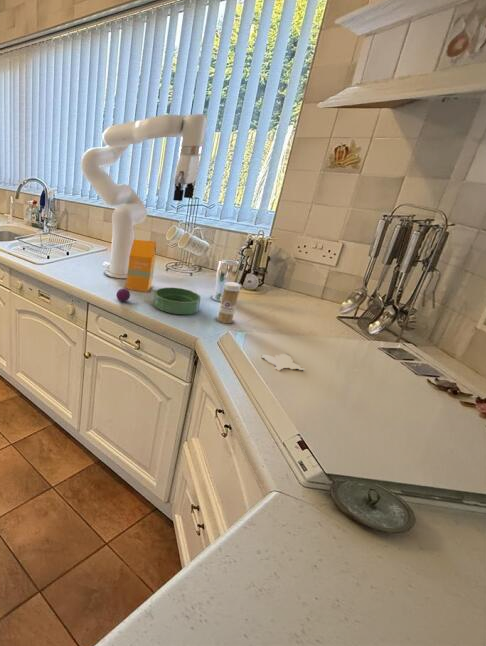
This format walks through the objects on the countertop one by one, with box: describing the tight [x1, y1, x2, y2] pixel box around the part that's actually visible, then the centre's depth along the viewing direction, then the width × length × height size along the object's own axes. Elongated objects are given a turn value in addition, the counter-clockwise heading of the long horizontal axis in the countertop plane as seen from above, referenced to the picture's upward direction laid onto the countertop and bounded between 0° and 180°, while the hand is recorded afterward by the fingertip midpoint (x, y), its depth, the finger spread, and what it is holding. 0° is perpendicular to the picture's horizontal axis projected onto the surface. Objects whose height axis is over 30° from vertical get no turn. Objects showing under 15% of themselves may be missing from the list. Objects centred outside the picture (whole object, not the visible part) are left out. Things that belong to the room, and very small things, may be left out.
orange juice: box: [125, 239, 157, 293], centre depth 161 cm, size 8×9×20 cm
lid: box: [329, 479, 417, 534], centre depth 65 cm, size 11×10×5 cm
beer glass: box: [212, 258, 240, 303], centre depth 149 cm, size 7×7×15 cm
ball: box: [115, 288, 131, 303], centre depth 150 cm, size 5×5×5 cm
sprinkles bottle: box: [217, 281, 242, 324], centre depth 131 cm, size 5×5×13 cm
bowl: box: [153, 287, 202, 315], centre depth 144 cm, size 15×15×5 cm
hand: (182, 199), depth 151 cm, fingers open, 9 cm apart
